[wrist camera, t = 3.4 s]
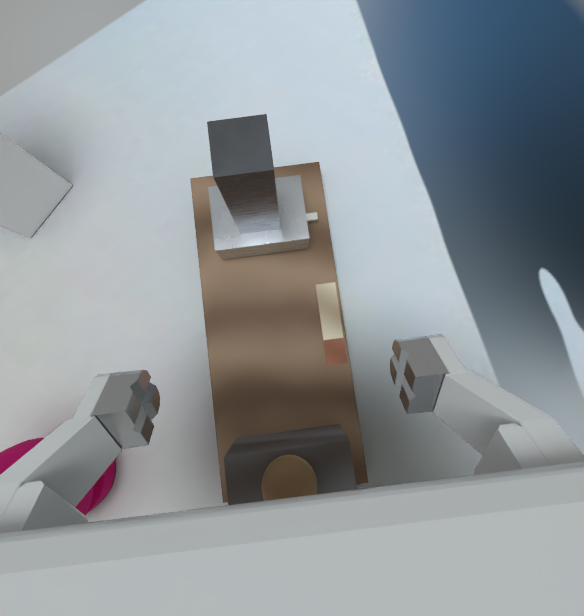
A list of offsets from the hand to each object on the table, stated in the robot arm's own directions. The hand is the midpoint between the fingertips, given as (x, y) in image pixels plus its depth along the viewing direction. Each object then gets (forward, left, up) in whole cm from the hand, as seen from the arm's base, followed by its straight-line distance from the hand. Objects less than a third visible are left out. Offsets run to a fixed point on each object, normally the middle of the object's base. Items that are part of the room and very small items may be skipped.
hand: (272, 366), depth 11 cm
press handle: (+10, -5, -14) cm, 18 cm away
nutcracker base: (+3, -1, -16) cm, 17 cm away
